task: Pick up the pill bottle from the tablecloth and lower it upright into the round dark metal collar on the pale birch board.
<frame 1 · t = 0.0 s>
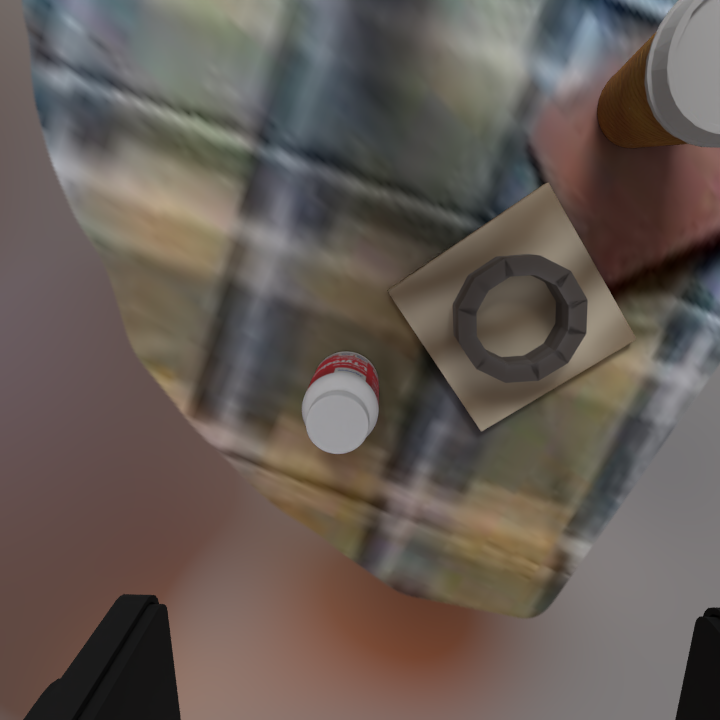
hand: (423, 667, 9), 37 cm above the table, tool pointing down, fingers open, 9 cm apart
disposable coffee cup: (635, 107, 40), on the table
socket board: (509, 313, 44), on the table
pill bottle: (346, 380, 47), on the table
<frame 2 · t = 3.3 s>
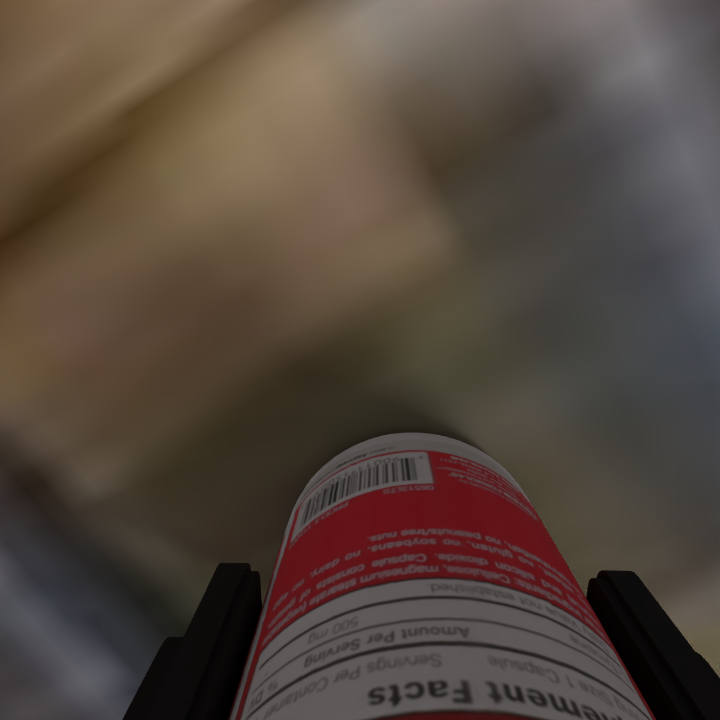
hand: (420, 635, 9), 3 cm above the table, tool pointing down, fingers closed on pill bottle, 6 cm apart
pill bottle: (409, 531, 13), on the table, touching gripper
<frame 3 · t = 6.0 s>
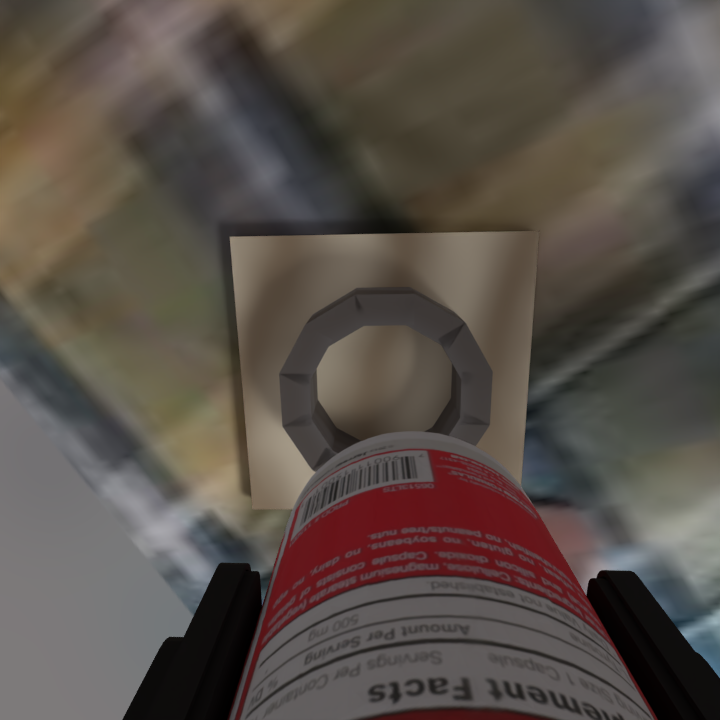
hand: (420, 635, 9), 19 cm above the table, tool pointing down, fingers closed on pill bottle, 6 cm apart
socket board: (383, 376, 28), on the table
pill bottle: (409, 530, 13), point 16 cm above the table, touching gripper
when the fingers open (5 cm above the table, at t = 9.2 s): pill bottle drops 1 cm, resting on socket board.
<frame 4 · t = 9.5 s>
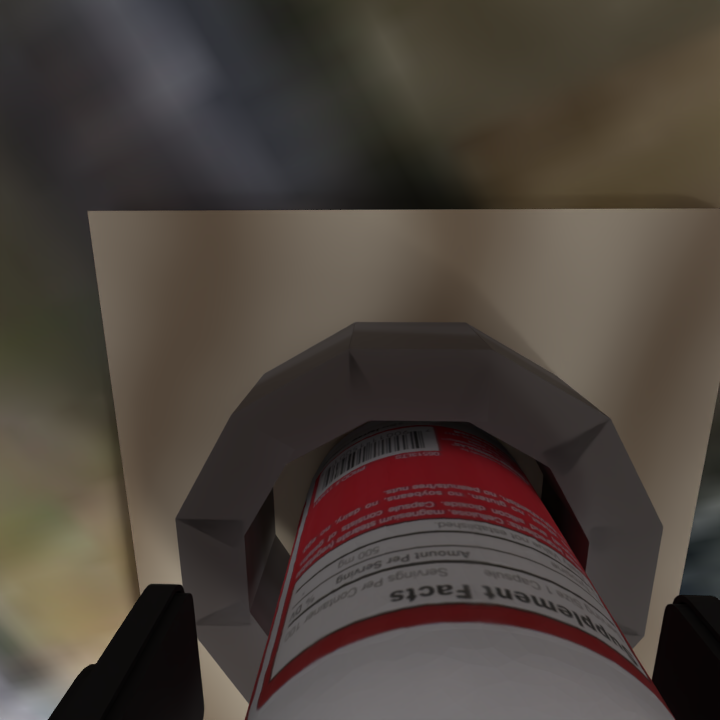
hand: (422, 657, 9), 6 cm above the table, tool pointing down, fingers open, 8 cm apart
socket board: (403, 487, 15), on the table
pill bottle: (415, 502, 14), point 1 cm above the table, touching socket board
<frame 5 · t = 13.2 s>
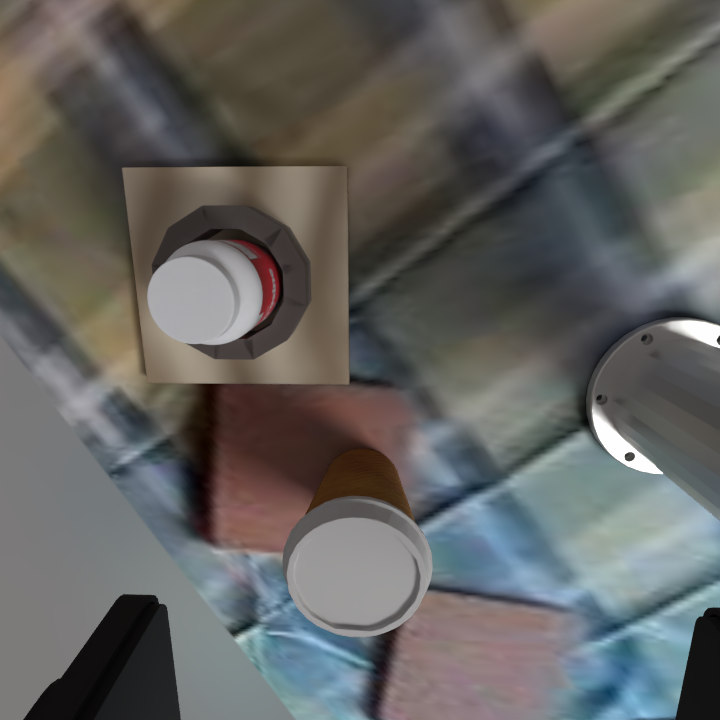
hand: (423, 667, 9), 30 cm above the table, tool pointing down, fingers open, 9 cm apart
disposable coffee cup: (362, 481, 42), on the table
socket board: (244, 280, 37), on the table
pill bottle: (245, 281, 37), point 1 cm above the table, touching socket board
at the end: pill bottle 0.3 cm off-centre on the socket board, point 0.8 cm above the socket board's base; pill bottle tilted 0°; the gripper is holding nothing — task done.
